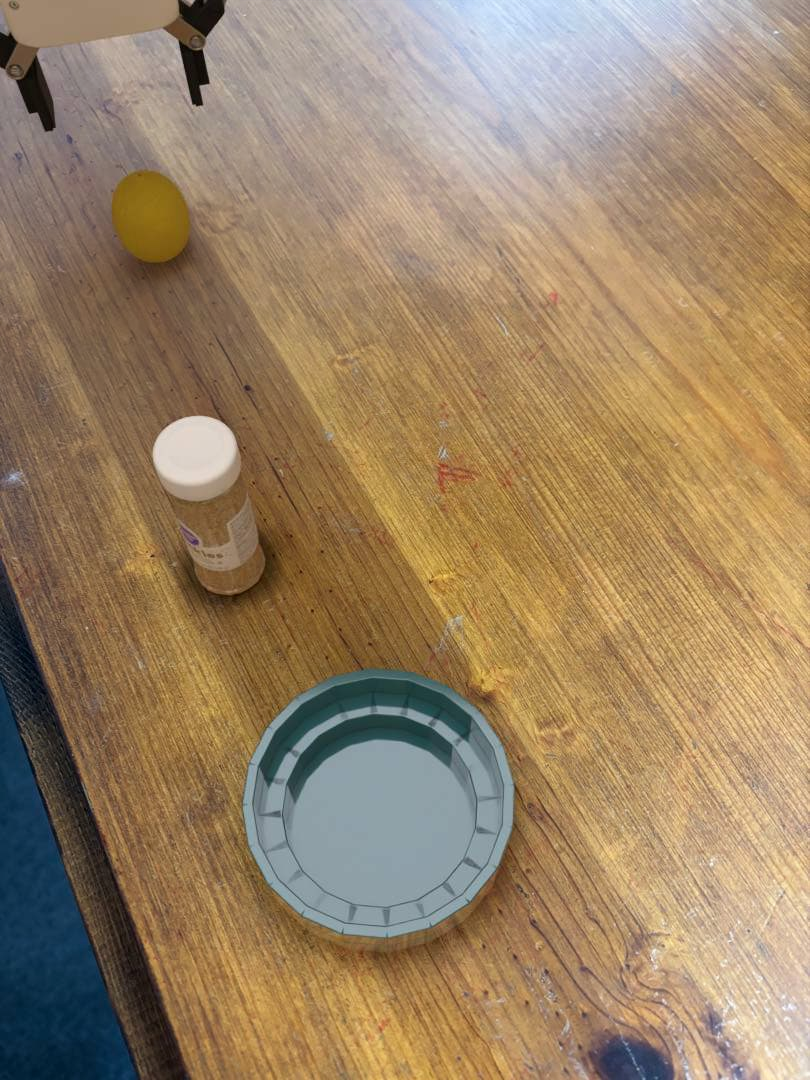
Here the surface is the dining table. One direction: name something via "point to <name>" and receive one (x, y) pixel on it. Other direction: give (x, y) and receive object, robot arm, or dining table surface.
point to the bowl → (379, 809)
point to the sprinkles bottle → (210, 502)
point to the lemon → (150, 216)
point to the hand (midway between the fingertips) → (123, 104)
